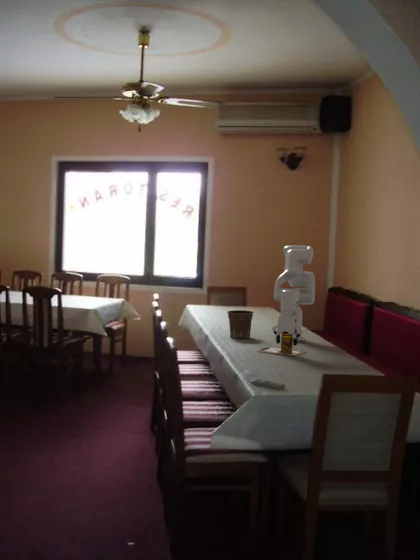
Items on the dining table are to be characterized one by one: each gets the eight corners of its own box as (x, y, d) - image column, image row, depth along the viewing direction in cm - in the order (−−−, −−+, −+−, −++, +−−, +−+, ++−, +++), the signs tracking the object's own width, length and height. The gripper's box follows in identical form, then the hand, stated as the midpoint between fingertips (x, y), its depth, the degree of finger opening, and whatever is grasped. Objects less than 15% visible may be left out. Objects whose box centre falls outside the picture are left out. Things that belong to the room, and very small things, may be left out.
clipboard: (269, 347, 324) (269, 345, 323) (305, 352, 312) (305, 350, 312) (257, 351, 311) (257, 349, 311) (295, 357, 299) (295, 354, 299)
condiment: (289, 354, 302) (290, 332, 301) (275, 352, 306) (275, 330, 306) (294, 352, 308) (295, 330, 308) (280, 350, 313) (281, 329, 312)
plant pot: (222, 338, 351) (222, 312, 350) (233, 334, 365) (234, 309, 364) (246, 340, 343) (247, 314, 342) (256, 336, 358) (257, 311, 356)
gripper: (305, 313, 304) (304, 345, 305) (275, 310, 313) (274, 341, 314) (300, 315, 298) (298, 347, 299) (269, 312, 306) (269, 343, 308)
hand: (286, 344), depth 307 cm, fingers open, 9 cm apart
